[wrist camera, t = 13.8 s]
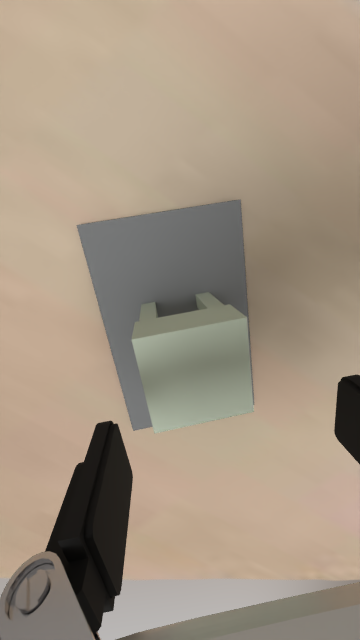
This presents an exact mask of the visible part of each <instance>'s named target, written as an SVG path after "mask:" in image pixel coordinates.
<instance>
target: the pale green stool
mask: <svg viewBox="0 0 360 640" xmlns="http://www.w3.org/2000/svg"><path fill="white" fill-rule="evenodd" d="M195 295H196V302H197V308H198V309H199V310H196V311H191V312H186V313H181V314H175V315H170V316H165V317H159V318H158V314H157V309H156V304H155V302H152V303H146V304H141V311H140V318H139V321H138V322H135V324H134V329H133V334H132V344H133V348H134V352H135V356H136V360H137V364H138V368H139V373H140V377H141V381H142V385H143V389H144V393H145V397H146V401H147V405H148V409H149V413H150V417H151V422H152V426H153V430H154V433H159V432H164V431H168V430H173V429H177V428H182V427H186V426H191V425H196V424H200V423H205V422H209V421H214V420H219V419H223V418H228V417H232V416H237V415H242V414H246V413H251V412H254V408H253V394H252V380H251V366H250V352H249V338H248V324H247V317H246V316H245V315H243V314H242V313H241V312H239V311H238V310H237V309H235V308H234V307H233V306H232V305H230V304H228V305H224V304H222V303H221V302H220V301H219V300H218V299H216V298H215V297H214V296H213V295H212V294H211V293H209V292H206V293H200V294H195Z"/></svg>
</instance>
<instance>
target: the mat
mask: <svg viewBox="0 0 360 640" xmlns="http://www.w3.org/2000/svg"><path fill="white" fill-rule="evenodd" d="M77 228H78V232H79V236H80V239H81V243H82V247H83V250H84V254H85V257H86V261H87V265H88V268H89V272H90V276H91V279H92V283H93V286H94V290H95V294H96V297H97V301H98V305H99V308H100V312H101V315H102V319H103V323H104V326H105V330H106V334H107V337H108V341H109V344H110V348H111V352H112V355H113V359H114V363H115V366H116V370H117V374H118V377H119V381H120V384H121V388H122V392H123V395H124V399H125V403H126V406H127V410H128V413H129V417H130V421H131V424H132V428H133V431H134V430H139V429H144V428H148V427H153V426H152V422H151V417H150V413H149V409H148V405H147V401H146V397H145V393H144V389H143V385H142V381H141V377H140V373H139V368H138V364H137V360H136V356H135V352H134V348H133V344H132V334H133V329H134V324H135V322H138V321H139V318H140V311H141V304H146V303H152V302H155V304H156V309H157V314H158V318H159V317H165V316H170V315H175V314H181V313H186V312H191V311H196V310H199V309H198V308H197V302H196V295H195V294H200V293H206V292H209V293H211V294H212V295H213V296H214V297H215V298H216V299H218V300H219V301H220V302H221V303H222V304H224V305H228V304H230V305H232V306H233V307H234V308H235V309H237V310H238V311H239V312H241V313H242V314H243V315H245V316H246V317H247V324H248V338H249V352H250V366H251V380H252V394H253V405H254V393H253V378H252V363H251V348H250V333H249V318H248V303H247V288H246V273H245V258H244V243H243V228H242V213H241V199H240V200H234V201H228V202H221V203H215V204H209V205H202V206H196V207H190V208H183V209H177V210H170V211H164V212H158V213H151V214H145V215H139V216H132V217H126V218H120V219H113V220H107V221H100V222H94V223H88V224H81V225H77Z"/></svg>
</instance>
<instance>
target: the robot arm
mask: <svg viewBox="0 0 360 640" xmlns="http://www.w3.org/2000/svg"><path fill="white" fill-rule="evenodd" d="M335 435H336V437H337V439H338V441H339V442H340V443H341V444H342V445H343V446H344V447H345V448H346V450H347V451H348V452H349V453H350V454H351V455H352V456H353V457H354V458H355V460H356V461H357V462H358V463H359V464H360V375H352V376H347V377H343V378H342V379H341V381H340V382H339V383H338V391H337V404H336V417H335ZM132 481H133V476H132V470H131V466H130V463H129V460H128V456H127V453H126V450H125V446H124V443H123V440H122V437H121V433H120V430H119V427H118V424H113V422H112V421H107V422H102V423H98V424H97V425H96V427H95V430H94V433H93V436H92V439H91V442H90V445H89V448H88V451H87V454H86V457H85V460H84V462H82V463H79V464H78V465H77V466H76V468H75V470H74V473H73V476H72V479H71V481H70V484H69V487H68V490H67V492H66V495H65V498H64V501H63V504H62V506H61V509H60V512H59V515H58V517H57V520H56V523H55V526H54V528H53V531H52V534H51V537H50V540H49V542H48V545H47V548H46V551H45V552H41V553H39V554H36V555H34V556H32V557H31V558H30V559H28V560H27V561H26V562H24V563H23V564H22V565H21V566H20V567H19V568H18V570H17V571H16V572H15V573H14V574H13V576H12V577H11V579H10V580H9V582H8V583H7V585H6V587H5V589H4V591H3V593H2V595H1V598H0V640H101V639H100V637H99V634H98V632H97V631H98V630H99V628H100V627H101V623H102V616H103V613H104V612H109V611H113V608H114V599H115V596H117V595H119V594H120V591H121V586H122V576H123V567H124V557H125V548H126V538H127V529H128V519H129V510H130V500H131V491H132ZM117 640H360V582H358V583H353V584H348V585H344V586H339V587H335V588H330V589H326V590H321V591H316V592H312V593H307V594H302V595H298V596H293V597H289V598H284V599H279V600H275V601H271V602H266V603H262V604H257V605H253V606H248V607H244V608H239V609H235V610H230V611H226V612H221V613H217V614H212V615H208V616H203V617H199V618H195V619H191V620H186V621H182V622H178V623H174V624H170V625H166V626H162V627H158V628H154V629H150V630H146V631H143V632H138V633H135V634H132V635H129V636H126V637H123V638H120V639H117Z"/></svg>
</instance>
